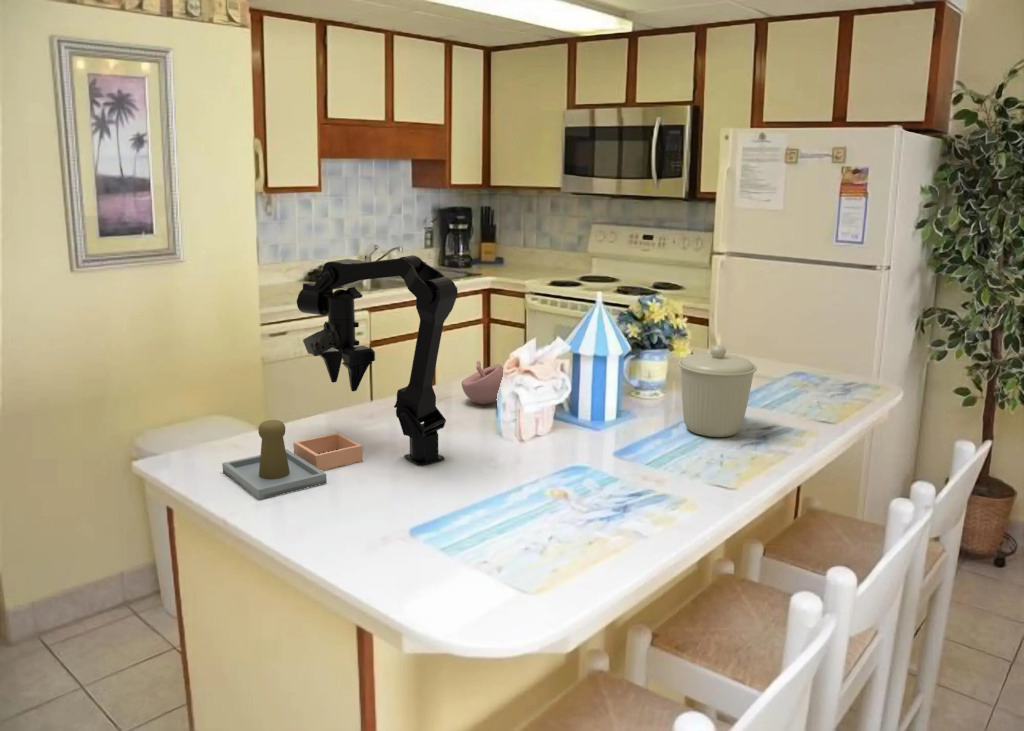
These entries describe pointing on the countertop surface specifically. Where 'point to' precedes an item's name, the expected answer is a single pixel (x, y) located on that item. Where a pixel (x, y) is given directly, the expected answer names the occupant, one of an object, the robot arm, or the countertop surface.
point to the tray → (249, 479)
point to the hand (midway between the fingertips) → (343, 386)
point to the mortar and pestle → (483, 384)
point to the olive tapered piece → (273, 450)
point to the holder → (314, 446)
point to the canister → (715, 391)
